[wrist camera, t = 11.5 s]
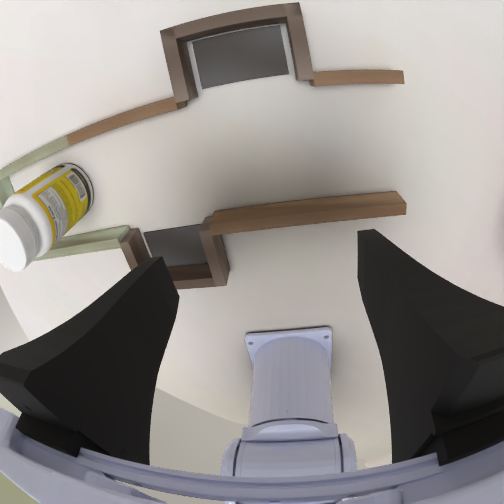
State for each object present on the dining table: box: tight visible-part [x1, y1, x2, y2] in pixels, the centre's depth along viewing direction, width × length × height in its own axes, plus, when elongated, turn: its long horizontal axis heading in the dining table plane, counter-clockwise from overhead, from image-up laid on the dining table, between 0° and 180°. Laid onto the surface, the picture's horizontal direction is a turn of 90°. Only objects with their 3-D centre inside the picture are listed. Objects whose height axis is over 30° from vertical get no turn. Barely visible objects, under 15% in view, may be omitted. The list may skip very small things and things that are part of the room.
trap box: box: [0, 2, 407, 289], centre depth 18 cm, size 18×32×2 cm, turn 100°
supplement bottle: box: [0, 164, 93, 272], centre depth 17 cm, size 5×5×8 cm
